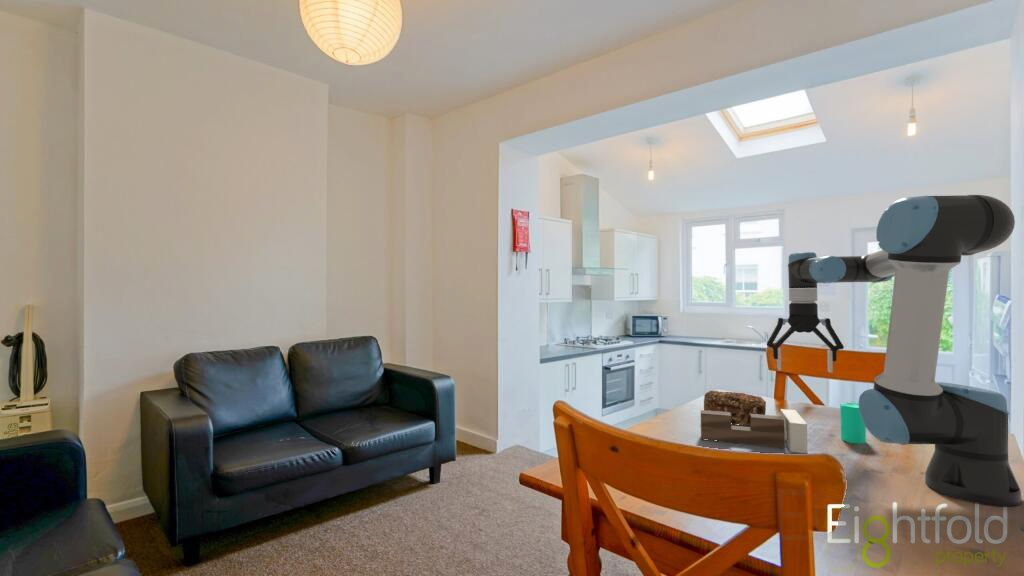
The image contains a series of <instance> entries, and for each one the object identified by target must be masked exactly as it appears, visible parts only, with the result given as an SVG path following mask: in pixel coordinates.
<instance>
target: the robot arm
mask: <svg viewBox="0 0 1024 576" xmlns="http://www.w3.org/2000/svg"><path fill="white" fill-rule="evenodd" d="M1015 223H1016V221H1015V215H1014V213H1013V210H1012V209H1011V208H1010V207H1009V206H1008V205H1007V204H1006V203H1005V202H1003V201H1002V200H1000V199H998V198H995V197H993V196H990V195H982V194H967V195H962V194H961V195H959V194H958V195H919V196H909V197H902V198H901V199H898V200H896V201H894V202H892V203H891V204H890V205H889V206H888V207H887V208H886V209H885V210H884V211H883V213H882V214H881V216H880V218H879V220H878V223H877V227H876V231H875V232H876V242H878V247H879V248H880V249H877V250H876V251H874V252H870V253H869V254H866V255H856V256H855V255H853V256H852V255H851V256H849V255H848V256H847V255H846V256H835V255H822V256H817V254H816V252H812V251H811V252H810V251H807V252H806V251H805V252H803V251H802V252H793V253H790V254H789V255H788V263H787V267H788V268H787V272H788V302H790V303H789V304H788V310H789V311H788V314H789V315H788V318H783V317H778V318H777V323H776V326H775V327H774V329H773V331H772V333H771V334H770V336H769V338H768V340H767V342H766V346H767V347H769V348H772V357H773V359H774V360H776V364H777V365H776V367H777V368H776V369H777V370H778V371H782V349H781V348H780V347H781V346H782V345H783V344H784V343H785V342H786V341H787V340H788V339H789V338H790V337H791V335H793V334H794V333H795V332H796V333H808V334H810V333H812V332H813V334H815V335H816V336H817V337H818V339H820V340H821V341H822V342H823V343H824V345H826V346H827V347H828V348H829V350H828V349H827V350H826V352H827V372H829V374H831V373H832V374H833V373H834V371H833V370H834V366H833V365H834V364H833V362H837V352H838V350H844V348H845V347H844V345H843V343H842V342H841V340H840V338H839V336H838V335H837V333H836V331H835V330H834V328H833V326H832V324H831V323H832V322H831V319H830V318H829V317H824V318H819V317H818V316H819V315H818V314H819V313H818V312H819V311H818V309H819V308H818V307H819V306H818V303H816V302H817V301H818V283H819V284H821V283H822V284H831V283H833V284H835V283H836V284H837V283H874V284H875V283H881V282H883V283H885V282H888V281H891V280H892V278H894V280H893V287H892V288H893V289H892V298H891V306H890V314H889V316H890V317H889V323H888V332H887V340H886V341H887V342H886V349H885V350H886V351H885V360H884V368H883V372H881V374H879V375H877V376H875V377H874V379H873V380H874V382H873V387H872V388H870V389H869V388H868V389H866V390H864V391H862V393H860V395H859V398H858V404H859V412H860V415H861V418H862V421H863V422H864V424H865V426H866V430H867V431H868V432H869V434H870V435H872V436H873V437H875V439H877V440H879V441H880V442H883V443H886V444H895V445H897V444H898V445H900V446H901V445H902V446H907V445H934V452H933V454H932V456H931V458H930V461H929V463H928V466H927V468H926V470H925V473H924V474H925V475H924V477H925V478H924V480H925V484H926V486H928V487H929V488H931V489H932V490H934V491H936V492H939V493H940V494H943V495H946V496H949V497H952V498H954V499H958V500H961V501H962V500H963V501H966V502H971V503H976V504H981V505H986V506H987V505H988V506H995V507H996V506H997V507H1013V506H1014V507H1015V506H1018V505H1021V503H1022V490H1021V488H1020V485H1019V483H1018V482H1017V481H1018V480H1017V479H1016V477H1015V474H1014V472H1013V470H1012V468H1011V465H1010V463H1009V415H1010V413H1009V411H1008V405H1007V398H1006V397H1005V395H1003V394H1001V393H1000V392H998V391H994V390H991V389H986V388H982V387H975V386H972V385H971V386H970V385H964V384H958V383H950V382H942V381H938V382H937V381H936V375H937V364H938V358H939V349H940V343H941V336H942V335H941V334H942V327H943V320H944V313H945V312H944V311H945V303H946V299H947V298H946V297H947V290H948V282H949V276H950V270H952V269H954V268H955V267H957V266H958V265H960V263H962V262H961V260H962V256H963V257H967V256H972V255H976V254H978V253H982V252H986V251H989V250H992V249H995V248H997V247H998V246H1000V245H1002V244H1003V243H1005V242H1006V241H1007V240H1008V239H1009V238H1010V236H1011V235H1012V234H1013V231H1014V229H1015V225H1016V224H1015ZM786 323H787V324H789V326H790V327H789V328H788V329H787V330H786V332H785V333H783V334H782V335H781V337H780V338H779V339H777V337H778V335H779V333H780V331H781V329H782V328H783V326H784V325H786ZM819 324H822V326H824V327H825V329H826V330H827V332H828V334H829V336H830V338H831V339H832V340H833V342H834V343H835V345H834V344H833V343H832V342H831V341H830V340H829V339H828V338H827V337H826V336H825V335H824V334H823V333H822V332H821V330H820V329H818V328H817V326H818V325H819ZM776 339H777V341H776ZM775 341H776V342H775Z"/></svg>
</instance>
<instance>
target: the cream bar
mask: <svg viewBox="0 0 1024 576" xmlns="http://www.w3.org/2000/svg"><path fill="white" fill-rule="evenodd" d="M779 415H780V416H782V417H783V419H784V434H785V441H786V444H787V448H788V449H789V452H792V453H798V454H799V453H801V454H808V452H809V451H808V424H807V422H806V421H805V420H804V419H803V417H802V416H801V415H800V414H799V413H798V412H797V410H796V409H787V408H780V414H779Z"/></svg>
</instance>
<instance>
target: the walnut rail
mask: <svg viewBox="0 0 1024 576" xmlns="http://www.w3.org/2000/svg"><path fill="white" fill-rule="evenodd" d="M701 439H708V440H717V441H716V442H718V441H724V442H723V443H728V442H731V444H739V443H743V444H742V445H749V444H751V446H760V447H761V446H762V447H770V446H772V448H773V447H774V448H783V449H785V448H786V447H785V445H786V444H785V441H786V440H785V434H784V419H783V417H782V416H781V415H772V414H770V415H769V414H765V415H760V414H750V426H738V425H731V413H730V412H719V411H706V410H704V409H700V440H701Z"/></svg>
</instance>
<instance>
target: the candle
mask: <svg viewBox="0 0 1024 576" xmlns="http://www.w3.org/2000/svg"><path fill="white" fill-rule="evenodd" d="M851 401H852V402H844V403H840V405H839V406H840V407H839V408H840V409H839V410H840V411H839V412H840V439H841V440H842V441H844V442H847V443H853V444H860V445H861V444H865V443H866V442H867V434H866V433H867V428H866V426H865V424H864V422H863V421H862V418H861V415H860V412H859V403H856V402H854V399H852V400H851Z"/></svg>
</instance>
